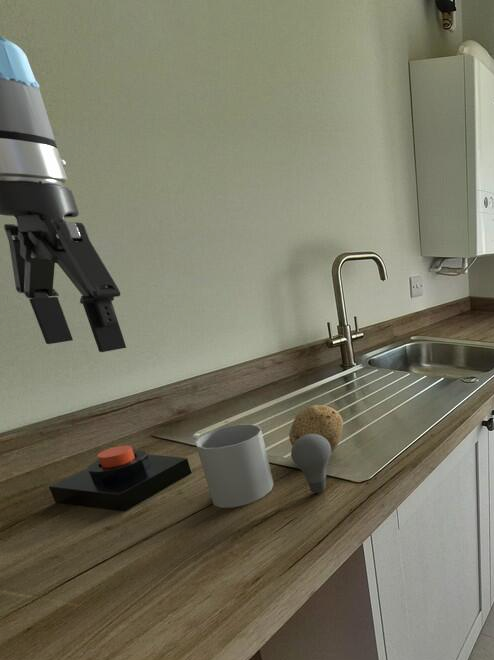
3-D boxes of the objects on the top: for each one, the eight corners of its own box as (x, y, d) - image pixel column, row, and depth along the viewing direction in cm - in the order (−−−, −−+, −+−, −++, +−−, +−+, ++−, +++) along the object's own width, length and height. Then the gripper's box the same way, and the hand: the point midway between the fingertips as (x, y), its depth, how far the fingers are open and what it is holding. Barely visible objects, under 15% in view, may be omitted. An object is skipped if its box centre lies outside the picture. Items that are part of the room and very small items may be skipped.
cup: (199, 500, 63) (182, 442, 60) (249, 474, 71) (236, 421, 67) (237, 512, 60) (220, 452, 57) (285, 484, 68) (273, 429, 64)
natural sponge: (292, 472, 71) (281, 419, 68) (295, 449, 79) (286, 401, 76) (348, 461, 75) (340, 410, 71) (346, 441, 82) (338, 394, 79)
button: (94, 468, 64) (90, 456, 63) (121, 455, 68) (118, 444, 67) (115, 470, 63) (111, 458, 63) (141, 457, 67) (138, 446, 66)
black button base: (55, 503, 63) (43, 474, 61) (130, 466, 73) (121, 441, 72) (124, 511, 61) (114, 482, 59) (191, 473, 71) (184, 447, 69)
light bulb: (344, 484, 67) (335, 429, 64) (324, 504, 62) (313, 445, 59) (314, 481, 68) (303, 426, 65) (291, 500, 63) (279, 442, 60)
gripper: (121, 180, 51) (169, 346, 58) (20, 191, 60) (72, 334, 66) (37, 171, 44) (102, 360, 51) (-63, 184, 53) (4, 344, 60)
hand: (85, 346), depth 59 cm, fingers open, 13 cm apart
